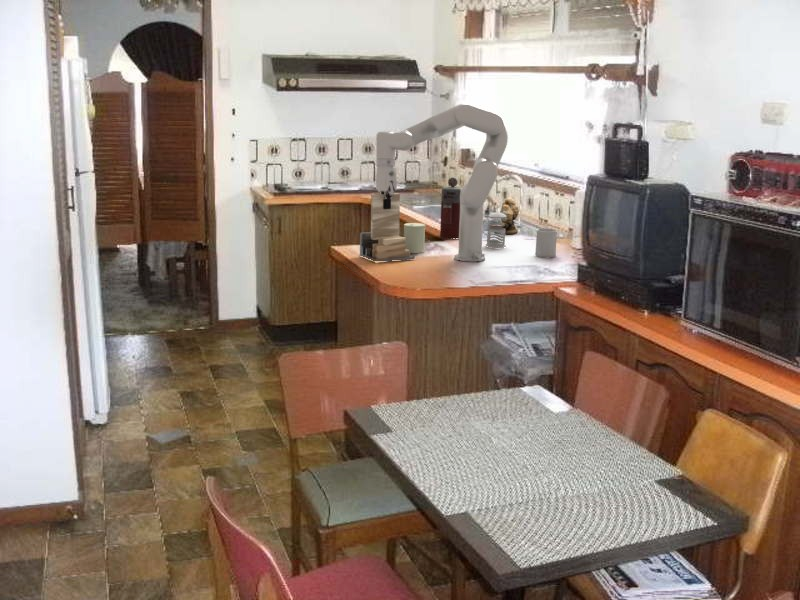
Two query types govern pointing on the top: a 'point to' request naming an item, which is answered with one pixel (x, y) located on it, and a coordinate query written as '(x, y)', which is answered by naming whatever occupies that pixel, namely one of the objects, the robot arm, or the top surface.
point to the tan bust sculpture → (509, 216)
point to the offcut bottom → (391, 254)
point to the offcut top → (392, 241)
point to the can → (414, 237)
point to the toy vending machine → (450, 210)
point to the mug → (546, 243)
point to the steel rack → (367, 248)
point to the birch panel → (384, 217)
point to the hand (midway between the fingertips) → (385, 208)
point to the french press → (496, 231)
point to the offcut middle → (388, 248)
